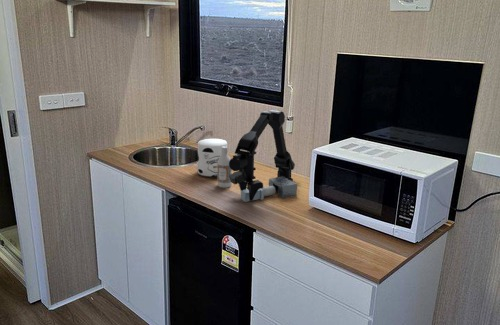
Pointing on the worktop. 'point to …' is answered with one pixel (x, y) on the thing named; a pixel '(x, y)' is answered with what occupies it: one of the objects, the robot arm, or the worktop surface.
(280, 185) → the block
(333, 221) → the worktop surface
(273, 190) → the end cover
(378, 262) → the worktop surface
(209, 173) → the milk container
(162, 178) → the worktop surface
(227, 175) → the bath foam
